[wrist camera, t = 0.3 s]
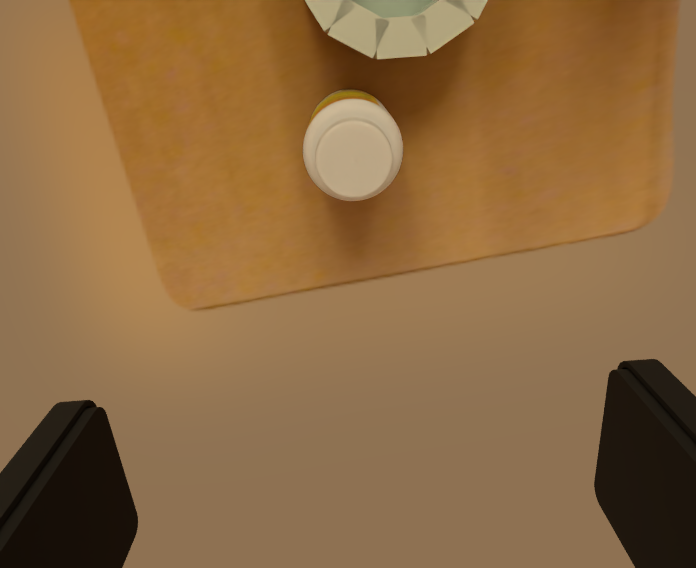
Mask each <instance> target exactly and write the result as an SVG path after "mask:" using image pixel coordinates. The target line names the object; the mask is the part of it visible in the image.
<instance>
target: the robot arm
mask: <svg viewBox="0 0 696 568" xmlns="http://www.w3.org/2000/svg"><path fill="white" fill-rule="evenodd" d="M594 487H595V493H596V497H597V500H598V502H599V505H600V506H601V508H602V510H603V512H604V513H605V515H606V517H607V519H608V520H609V522H610V524H611V526H612V527H613V529H614V531H615V533H616V534H617V536H618V538H619V540H620V541H621V543H622V545H623V547H624V548H625V550H626V552H627V554H628V555H629V557H630V559H631V561H632V563H633V564H634V566H635V568H696V397H695V396H694V395H693V394H692V393H691V392H690V391H689V390H688V389H687V388H686V387H685V386H684V385H683V384H682V383H681V382H680V381H679V380H678V379H677V378H676V377H675V376H674V375H673V374H672V373H671V372H670V371H669V370H668V369H667V368H666V367H665V366H664V365H663V364H662V363H660V362H659V361H658V360H655V359H647V360H634V361H623V362H621V363H620V364H619V366H618V369H617V370H612V371H611V372H610V374H609V378H608V385H607V392H606V400H605V407H604V415H603V422H602V429H601V437H600V444H599V453H598V459H597V467H596V474H595V482H594ZM137 527H138V516H137V512H136V509H135V505H134V502H133V499H132V496H131V492H130V489H129V486H128V483H127V480H126V477H125V473H124V469H123V466H122V463H121V460H120V457H119V453H118V450H117V447H116V443H115V440H114V437H113V434H112V430H111V427H110V424H109V421H108V418H107V414H106V412H105V410H104V409H103V408H101V407H96V404H95V403H94V402H93V401H90V400H83V401H71V402H60V403H57V404H56V405H55V406H53V408H52V409H51V410H50V411H49V413H48V414H47V415H46V417H45V418H44V419H43V420H42V421H41V423H40V424H39V425H38V426H37V428H36V429H35V430H34V431H33V433H32V434H31V435H30V437H29V438H28V439H27V440H26V442H25V443H24V444H23V445H22V447H21V448H20V449H19V450H18V452H17V453H16V454H15V455H14V457H13V458H12V459H11V460H10V462H9V463H8V464H7V465H6V467H5V468H4V469H3V471H2V472H1V473H0V568H122V567H123V565H124V562H125V560H126V557H127V555H128V552H129V550H130V548H131V545H132V543H133V541H134V538H135V535H136V532H137Z"/></svg>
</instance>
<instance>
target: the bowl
mask: <svg viewBox="0 0 696 568" xmlns="http://www.w3.org/2000/svg"><path fill="white" fill-rule="evenodd" d="M487 1H488V0H305V2H306V3H307V5H308V7H309V8H310V10H311V11H312V13H313V14H314V16H315V18H316V19H317V21H318V22H319V24H320V26H321V27H322V29H323V30H324V32H325V33H328V32H329V33H328V36H330V37H332V38H333V39H335V40H337V41H339V42H341V43H343V44H345V45H347V46H348V47H350V48H352V49H354V50H356V51H358V52H360V53H362V54H364V55H366V56H367V57H370V58H374V59H389V58H402V57H415V56H427V54H432V53H433V52H434V51H436V50H437V49H439V48H440V47H442V46H443V45H444V44H446V43H447V42H449V41H450V40H451V39H453V38H454V37H456V36H457V35H458V34H460V33H461V32H463V31H464V30H466V29H467V28H468V27H470V26H471V25H473V24H474V21H473V20H477V19H478V18H479V16H480V14H481V12H482V10H483V8H484V7H485V5H486V3H487Z"/></svg>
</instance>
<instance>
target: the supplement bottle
mask: <svg viewBox="0 0 696 568" xmlns="http://www.w3.org/2000/svg"><path fill="white" fill-rule="evenodd" d="M402 158H403V141H402V137H401V133H400V130H399V128H398V126H397V124H396V122H395V121H394V119H393V118H392V116H391V115H390V114H389V112H388V111H387V110H386V108H385V107H384V106H383V105H382V103H381V102H380V101H379V100H378V99H376V98H375V97H374V96H372V95H371V94H369V93H367V92H364V91H361V90H356V89H343V90H339V91H336V92H334V93H332V94H330V95H328V96H327V97H325V98H324V99H323V100H322V101H321V102H320V103H319V104H318V106H317V107H316V108H315V110H314V112H313V114H312V116H311V119H310V122H309V125H308V127H307V130H306V133H305V137H304V142H303V159H304V163H305V167H306V169H307V172H308V174H309V176H310V177H311V179H312V180H313V182H314V183H315V184H316V185H317V186H318V187H319V188H320V189H321V190H322V191H323V192H325V193H326V194H328V195H330V196H332V197H334V198H337V199H340V200H345V201H361V200H365V199H369V198H371V197H373V196H376V195H377V194H379V193H381V192H382V191H383V190H385V189H386V188H387V187H388V186H389V185H390V184H391V183H392V181H393V180H394V179H395V177H396V175H397V174H398V171H399V169H400V166H401V163H402Z"/></svg>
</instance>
